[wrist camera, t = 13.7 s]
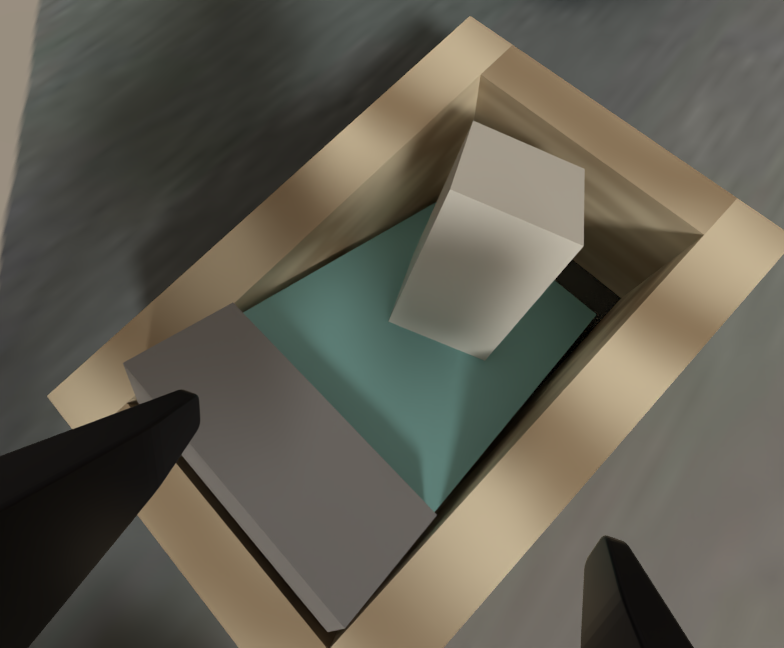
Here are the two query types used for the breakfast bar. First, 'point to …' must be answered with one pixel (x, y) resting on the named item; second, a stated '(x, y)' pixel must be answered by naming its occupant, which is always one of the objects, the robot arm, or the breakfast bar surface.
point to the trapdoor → (346, 415)
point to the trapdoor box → (543, 409)
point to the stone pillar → (491, 242)
